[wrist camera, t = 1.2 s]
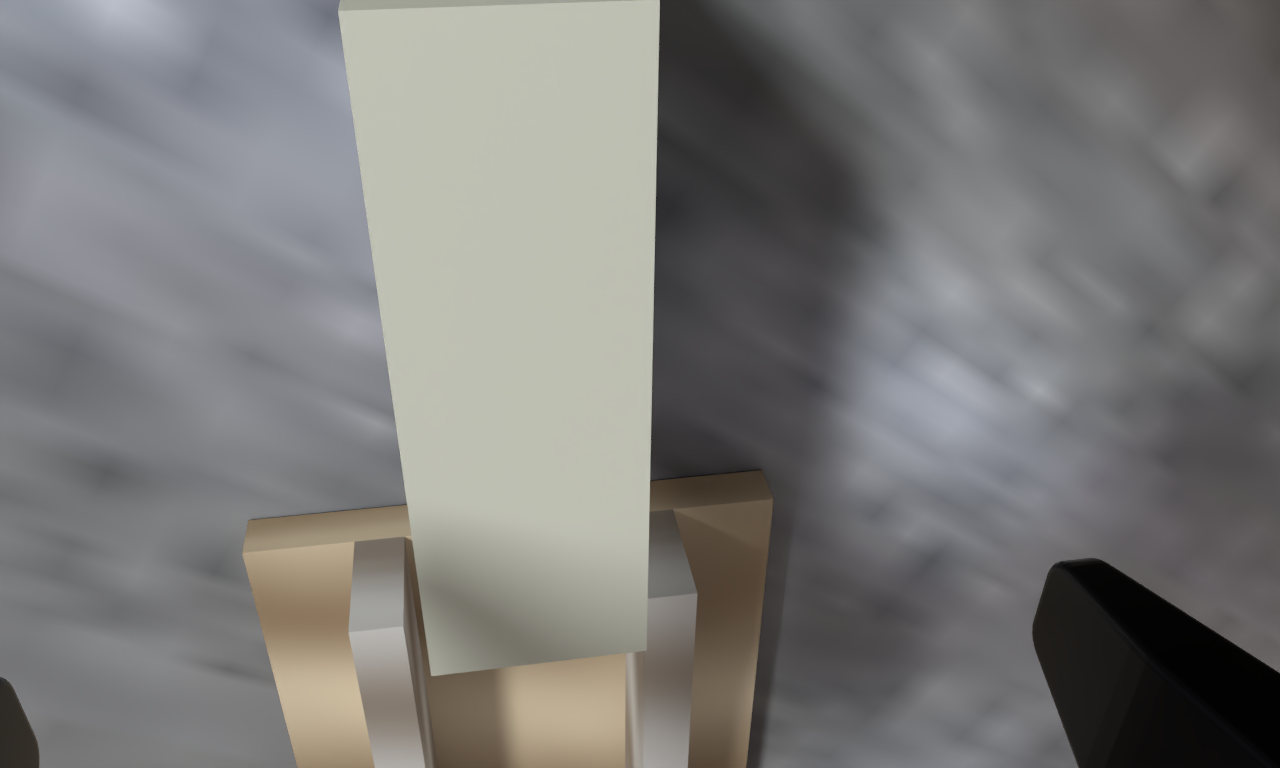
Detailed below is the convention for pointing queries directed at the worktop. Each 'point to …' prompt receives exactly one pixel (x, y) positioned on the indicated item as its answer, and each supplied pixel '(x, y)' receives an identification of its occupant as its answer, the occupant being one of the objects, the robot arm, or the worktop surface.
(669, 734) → the track base
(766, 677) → the worktop surface
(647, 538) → the door panel
